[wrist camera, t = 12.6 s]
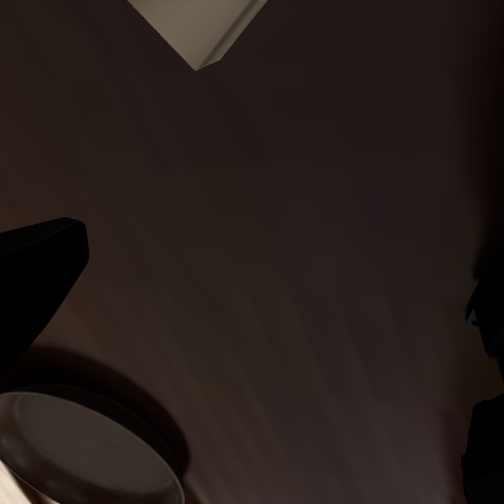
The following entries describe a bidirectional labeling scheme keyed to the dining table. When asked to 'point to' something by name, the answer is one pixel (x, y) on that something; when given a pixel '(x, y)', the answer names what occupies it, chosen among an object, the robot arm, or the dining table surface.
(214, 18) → the block
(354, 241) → the dining table surface
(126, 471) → the plant saucer
